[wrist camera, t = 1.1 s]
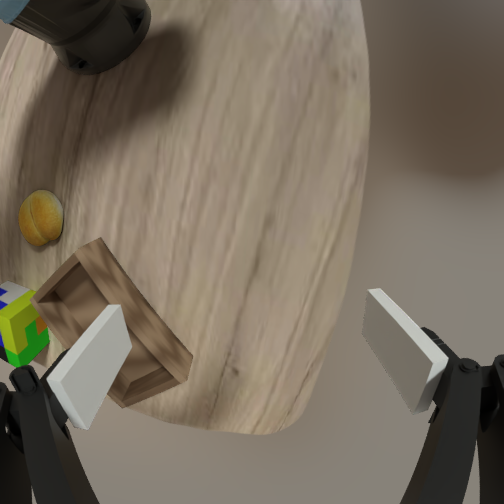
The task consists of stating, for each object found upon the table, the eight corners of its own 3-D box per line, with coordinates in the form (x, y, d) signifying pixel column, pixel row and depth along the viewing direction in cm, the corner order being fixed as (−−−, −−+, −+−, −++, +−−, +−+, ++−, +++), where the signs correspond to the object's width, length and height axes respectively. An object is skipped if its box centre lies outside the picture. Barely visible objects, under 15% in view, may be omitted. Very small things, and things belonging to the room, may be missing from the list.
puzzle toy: (8, 280, 38) (-26, 300, 28) (43, 294, 39) (9, 319, 29) (15, 325, 40) (-14, 349, 31) (49, 341, 41) (22, 370, 31)
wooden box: (49, 286, 38) (29, 300, 32) (100, 237, 36) (79, 247, 30) (132, 386, 43) (122, 408, 37) (193, 356, 41) (187, 380, 36)
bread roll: (72, 231, 36) (57, 237, 32) (36, 248, 37) (22, 255, 33) (57, 179, 34) (41, 181, 30) (22, 201, 34) (7, 204, 31)
